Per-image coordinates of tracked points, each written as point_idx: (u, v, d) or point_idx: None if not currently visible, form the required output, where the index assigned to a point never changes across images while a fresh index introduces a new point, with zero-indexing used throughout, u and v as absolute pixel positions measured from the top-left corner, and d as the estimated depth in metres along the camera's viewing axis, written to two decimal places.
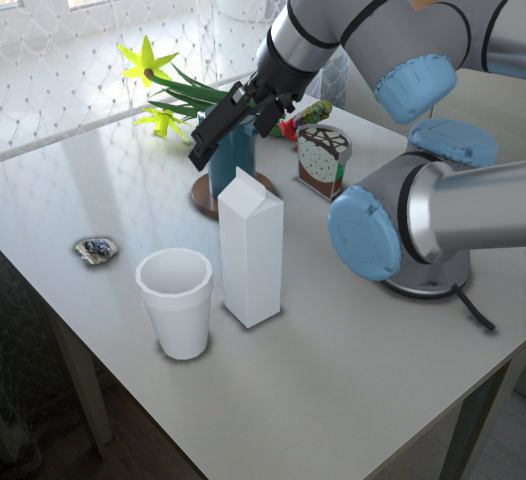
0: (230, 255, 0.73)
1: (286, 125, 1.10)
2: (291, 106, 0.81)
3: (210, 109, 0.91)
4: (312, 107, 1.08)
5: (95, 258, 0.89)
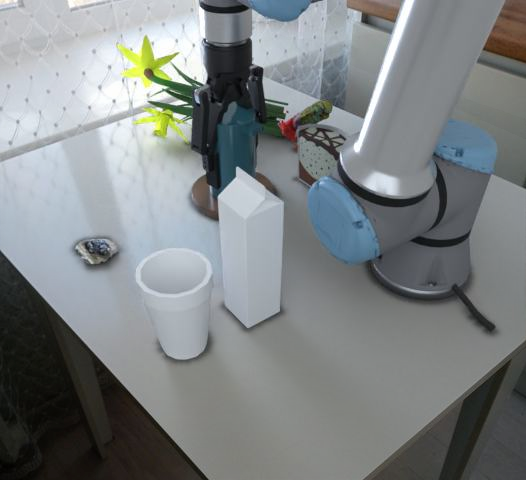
0: (230, 255, 0.73)
1: (286, 125, 1.10)
2: None
3: None
4: (312, 107, 1.08)
5: (95, 258, 0.89)
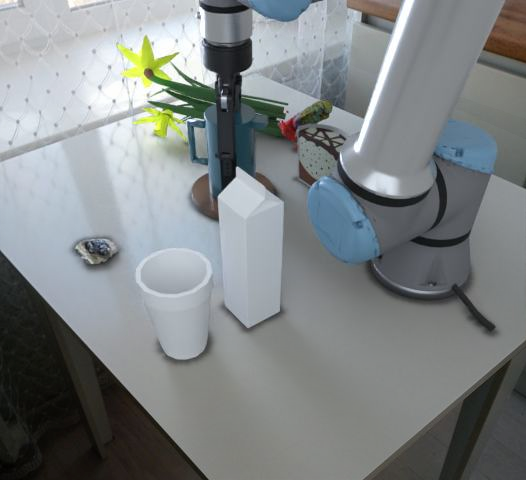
0: (230, 255, 0.73)
1: (286, 125, 1.10)
2: None
3: (208, 113, 0.90)
4: (312, 107, 1.08)
5: (95, 258, 0.89)
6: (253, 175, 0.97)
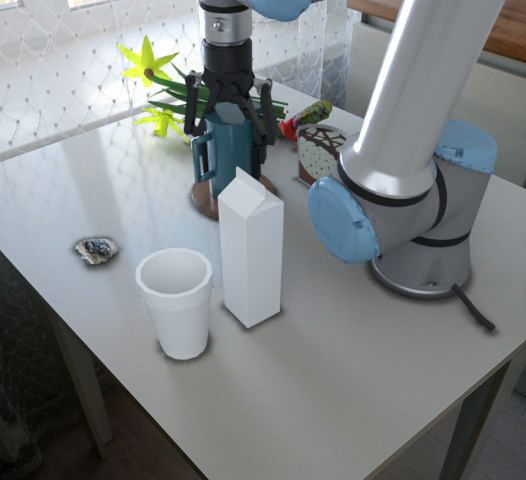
0: (230, 255, 0.73)
1: (286, 125, 1.10)
2: None
3: (218, 122, 0.88)
4: (312, 107, 1.08)
5: (95, 258, 0.89)
6: None
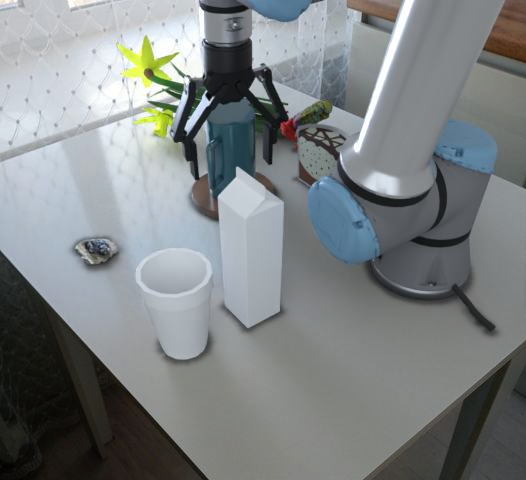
0: (230, 255, 0.73)
1: (286, 125, 1.10)
2: None
3: (227, 123, 0.88)
4: (312, 107, 1.08)
5: (95, 258, 0.89)
6: None
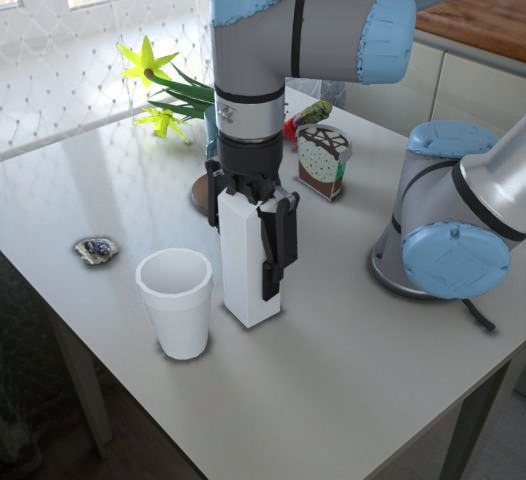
0: (230, 255, 0.73)
1: (286, 125, 1.10)
2: None
3: None
4: (312, 107, 1.08)
5: (95, 258, 0.89)
6: None
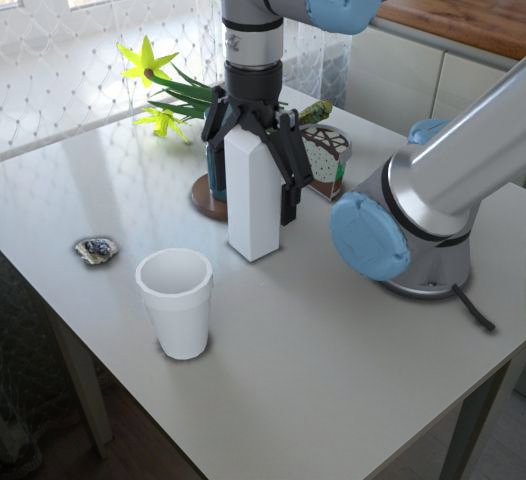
0: (235, 192, 0.83)
1: None
2: None
3: None
4: (312, 107, 1.08)
5: (95, 258, 0.89)
6: None
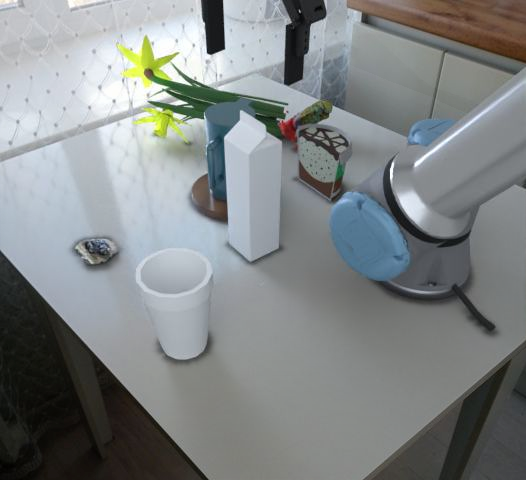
0: (235, 192, 0.83)
1: (286, 125, 1.10)
2: None
3: (227, 123, 0.88)
4: (312, 107, 1.08)
5: (95, 258, 0.89)
6: None
